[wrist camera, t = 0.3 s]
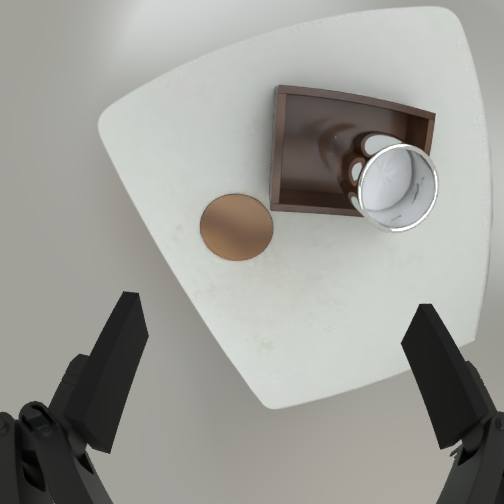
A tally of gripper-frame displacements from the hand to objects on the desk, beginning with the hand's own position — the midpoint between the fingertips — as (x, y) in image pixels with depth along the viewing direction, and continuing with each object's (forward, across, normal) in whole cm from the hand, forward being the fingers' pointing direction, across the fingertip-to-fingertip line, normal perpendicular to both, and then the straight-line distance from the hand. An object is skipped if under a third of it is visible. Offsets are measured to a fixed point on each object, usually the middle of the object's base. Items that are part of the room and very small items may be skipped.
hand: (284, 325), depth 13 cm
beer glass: (+24, +8, +4) cm, 25 cm away
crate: (+24, +8, +4) cm, 26 cm away
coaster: (+24, -4, -7) cm, 25 cm away
